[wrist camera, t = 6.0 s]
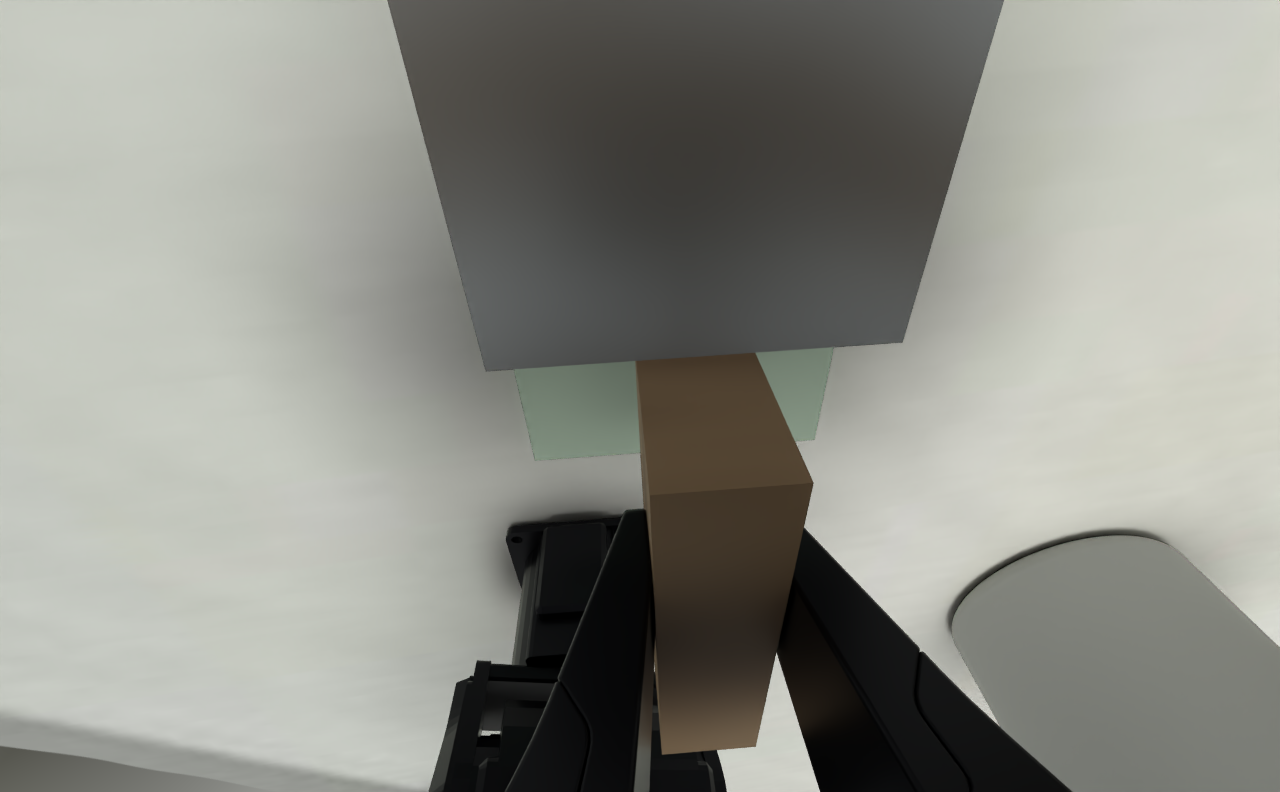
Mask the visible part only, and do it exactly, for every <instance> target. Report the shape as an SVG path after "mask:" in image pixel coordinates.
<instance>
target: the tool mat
mask: <svg viewBox="0 0 1280 792" xmlns="http://www.w3.org/2000/svg"><path fill="white" fill-rule="evenodd" d="M833 349H834V347H830V348H816V349H801V350H787V351H772V352H758V353H756V355H757V358H758V360H759V362H760V364H761V367H762V369H763V371H764V373H765V376H766V378H767V380H768V382H769V384H770V387H771V389H772V391H773V393H774V396H775V398H776V400H777V402H778V405H779V407H780V409H781V411H782V414H783V416H784V418H785V420H786V423H787V425H788V427H789V429H790V431H791V434H792V436H793V438H794V440H795V441H807V440H814V439H815V434H816V430H817V425H818V420H819V415H820V411H821V406H822V401H823V396H824V391H825V387H826V382H827V377H828V372H829V368H830V363H831V358H832V353H833ZM514 373H515V377H516V381H517V386H518V390H519V394H520V398H521V403H522V407H523V411H524V415H525V420H526V424H527V428H528V433H529V437H530V441H531V445H532V450H533V454H534V458H535V461H538V460H551V459H565V458H578V457H592V456H605V455H619V454H632V453H640V437H639V420H638V403H637V386H636V368H635V361H628V362H614V363H599V364H585V365H571V366H556V367H542V368H527V369H514Z"/></svg>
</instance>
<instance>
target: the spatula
mask: <svg viewBox="0 0 1280 792" xmlns="http://www.w3.org/2000/svg"><path fill="white" fill-rule="evenodd" d="M1003 2H1004V0H388V4H389V8H390V12H391V15H392V19H393V23H394V27H395V31H396V34H397V38H398V42H399V46H400V49H401V53H402V57H403V61H404V65H405V68H406V72H407V76H408V80H409V83H410V87H411V91H412V95H413V98H414V102H415V106H416V110H417V114H418V117H419V121H420V125H421V129H422V132H423V136H424V140H425V144H426V148H427V151H428V155H429V159H430V163H431V166H432V170H433V174H434V178H435V182H436V185H437V189H438V193H439V197H440V200H441V204H442V208H443V212H444V215H445V219H446V223H447V227H448V231H449V234H450V238H451V242H452V246H453V249H454V253H455V257H456V261H457V265H458V268H459V272H460V276H461V280H462V283H463V287H464V291H465V295H466V298H467V302H468V306H469V310H470V314H471V317H472V321H473V325H474V329H475V332H476V336H477V340H478V344H479V348H480V351H481V355H482V359H483V363H484V366H485V370H486V371H499V370H513V369H527V368H542V367H556V366H571V365H585V364H599V363H614V362H628V361H635V368H636V386H637V403H638V420H639V437H640V454H641V471H642V488H643V505H644V509H645V510H646V514H647V524H648V535H649V545H650V556H651V566H652V581H653V601H654V621H655V655H654V663H655V675H656V687H657V699H658V712H659V724H660V736H661V749H662V755H664V754H676V753H687V752H699V751H711V750H722V749H734V748H746V747H756V743H757V738H758V733H759V729H760V724H761V720H762V715H763V711H764V706H765V702H766V697H767V692H768V688H769V683H770V679H771V674H772V670H773V665H774V661H775V656H776V651H777V647H778V642H779V638H780V633H781V629H782V624H783V620H784V615H785V611H786V606H787V601H788V597H789V592H790V588H791V583H792V579H793V574H794V570H795V565H796V560H797V556H798V551H799V547H800V542H801V538H802V533H803V529H804V524H805V519H806V515H807V510H808V506H809V501H810V497H811V492H812V488H813V481H812V478H811V476H810V474H809V472H808V469H807V467H806V465H805V463H804V461H803V458H802V456H801V454H800V452H799V449H798V447H797V445H796V443H795V440H794V438H793V436H792V434H791V431H790V429H789V427H788V425H787V423H786V420H785V418H784V416H783V414H782V411H781V409H780V407H779V405H778V402H777V400H776V398H775V396H774V393H773V391H772V389H771V387H770V384H769V382H768V380H767V378H766V376H765V373H764V371H763V369H762V367H761V364H760V362H759V360H758V358H757V355H756V353H758V352H772V351H787V350H801V349H816V348H830V347H845V346H859V345H873V344H888V343H902V342H903V339H904V336H905V332H906V329H907V325H908V322H909V319H910V315H911V312H912V309H913V305H914V302H915V298H916V295H917V292H918V288H919V285H920V282H921V278H922V275H923V271H924V268H925V265H926V261H927V258H928V255H929V251H930V248H931V244H932V241H933V238H934V234H935V231H936V228H937V224H938V221H939V217H940V214H941V211H942V207H943V204H944V201H945V197H946V194H947V190H948V187H949V184H950V180H951V177H952V174H953V170H954V167H955V164H956V160H957V157H958V153H959V150H960V147H961V143H962V140H963V137H964V133H965V130H966V126H967V123H968V120H969V116H970V113H971V110H972V106H973V103H974V99H975V96H976V93H977V89H978V86H979V83H980V79H981V76H982V72H983V69H984V66H985V62H986V59H987V56H988V52H989V49H990V45H991V42H992V39H993V35H994V32H995V29H996V25H997V22H998V18H999V15H1000V12H1001V8H1002V5H1003Z"/></svg>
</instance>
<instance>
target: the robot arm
mask: <svg viewBox="0 0 1280 792" xmlns="http://www.w3.org/2000/svg"><path fill="white" fill-rule="evenodd" d="M506 542H507V546H508V549H509V552H510V555H511V558H512V561H513V564H514V567H515V570H516V573H517V577H518V580H519V583H520V586H521V589H522V592H521V599H520V607H519V614H518V622H517V629H516V636H515V644H514V651H513V659H512V665H506V664H491V661H479V660H477V663H476V668H475V672H474V676H470V678H467V679H465V680H462V681H460V682H457V683H456V687H455V691H454V696H453V701H452V706H451V710H450V715H449V719H448V724H447V728H446V732H445V736H444V739H443V743H442V747H441V750H440V754H439V757H438V761H437V764H436V768H435V771H434V775H433V778H432V782H431V785H430V789H429V792H727V791H726V784H725V779H724V775H723V771H722V767H721V763H720V760H719V756H718V753H717V750H711V751H699V752H687V753H676V754H664V755H662V749H661V736H660V724H659V712H658V699H657V687H656V675H655V672H654V655H655V621H654V601H653V581H652V566H651V556H650V545H649V535H648V524H647V514H646V510H645V509H632V510H626V511H625V512H624V514H623V516H622V518H612V519H599V520H586V521H573V522H560V523H547V524H534V525H521V526H513V527H511V528H509V529H508V531H507V535H506ZM919 651H920V649H919V647H918V646H917V645H916V644H915V643H914V642H913V641H912V639H911V638H910V637H909V636H908V635H907V634H906V633H905V632H904V631H903V630H902V629H901V628H900V627H899V626H898V625H897V624H896V623H895V622H894V621H893V620H892V619H891V618H890V617H889V616H888V614H887V613H886V612H885V611H884V610H883V609H882V608H881V607H880V606H879V605H878V604H877V603H876V602H875V601H874V600H873V599H872V598H871V597H870V596H869V595H868V594H867V593H866V592H865V590H864V589H863V588H862V587H861V586H860V585H859V584H858V583H857V582H856V581H855V580H854V579H853V578H852V577H851V576H850V575H849V574H848V573H847V572H846V571H845V570H844V569H843V568H842V566H841V565H840V564H839V563H838V562H837V561H836V560H835V559H834V558H833V557H832V556H831V555H830V554H829V553H828V552H827V551H826V550H825V549H824V548H823V547H822V546H821V545H820V544H819V542H818V541H817V540H816V539H815V538H814V537H813V536H812V535H811V534H810V533H809V532H808V531H807V530H806V529H805V528H804V529H803V533H802V538H801V542H800V547H799V551H798V556H797V560H796V565H795V570H794V574H793V579H792V583H791V588H790V592H789V597H788V601H787V606H786V611H785V615H784V620H783V624H782V629H781V633H780V638H779V642H778V647H777V651H776V652H777V655H778V658H779V661H780V665H781V668H782V671H783V674H784V677H785V681H786V684H787V687H788V690H789V693H790V697H791V700H792V703H793V706H794V709H795V713H796V716H797V719H798V722H799V726H800V729H801V732H802V735H803V738H804V742H805V745H806V748H807V751H808V754H809V758H810V761H811V764H812V767H813V770H814V774H815V777H816V780H817V783H818V786H819V790H820V792H1073V791H1071V790H1070V789H1069V788H1068V787H1067V786H1066V785H1065V784H1064V783H1062V782H1061V781H1060V780H1059V779H1058V778H1057V777H1056V776H1055V775H1053V774H1052V773H1051V772H1050V771H1049V770H1048V769H1047V768H1046V767H1044V766H1043V765H1042V764H1041V763H1040V762H1039V761H1038V760H1037V759H1035V758H1034V757H1033V756H1032V755H1031V754H1030V753H1029V752H1028V751H1026V750H1025V749H1024V748H1023V747H1022V746H1021V745H1020V744H1019V743H1017V742H1016V741H1015V740H1014V739H1013V738H1012V737H1011V736H1010V735H1008V734H1007V733H1006V732H1005V731H1004V730H1003V729H1002V728H1001V727H1000V726H999V725H997V724H996V723H995V722H994V721H993V720H992V719H991V718H990V717H989V716H988V715H987V714H985V713H984V712H983V711H982V710H981V709H980V708H979V707H978V706H977V705H976V704H975V703H974V702H972V701H971V700H970V699H969V698H968V697H967V696H966V695H965V694H964V693H963V692H962V691H961V690H960V689H959V688H958V687H957V686H956V685H955V684H954V683H953V682H952V681H951V680H950V679H949V678H948V677H947V676H946V675H945V674H944V673H943V672H942V671H941V670H940V669H939V668H938V666H937V665H936V664H935V663H934V662H933V661H932V660H931V659H930V658H929V657H928V656H927V655H926V654H925V653H924V652H919ZM482 730H486V731H500V734H491V735H490V736H481V734H482Z"/></svg>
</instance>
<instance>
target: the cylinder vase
mask: <svg viewBox="0 0 1280 792" xmlns="http://www.w3.org/2000/svg"><path fill="white" fill-rule="evenodd" d="M952 636H953V640H954V643H955V645H956V647H957V649H958V650H959V652H960V654H961V656H962V658H963V660H964V661H965V663H966V665H967V667H968V669H969V671H970V672H971V674H972V676H973V678H974V680H975V682H976V683H977V685H978V687H979V689H980V691H981V693H982V694H983V696H984V698H985V700H986V702H987V704H988V705H989V707H990V709H991V711H992V713H993V715H994V716H995V718H996V720H997V722H998V724H999V726H1000V727H1001V728H1002V729H1003V730H1004V731H1005V732H1006V733H1007V734H1008V735H1010V736H1011V737H1012V738H1013V739H1014V740H1015V741H1016V742H1017V743H1019V744H1020V745H1021V746H1022V747H1023V748H1024V749H1025V750H1026V751H1028V752H1029V753H1030V754H1031V755H1032V756H1033V757H1034V758H1035V759H1037V760H1038V761H1039V762H1040V763H1041V764H1042V765H1043V766H1044V767H1046V768H1047V769H1048V770H1049V771H1050V772H1051V773H1052V774H1053V775H1055V776H1056V777H1057V778H1058V779H1059V780H1060V781H1061V782H1062V783H1064V784H1065V785H1066V786H1067V787H1068V788H1069V789H1070V790H1071V791H1073V792H1280V647H1279V646H1278V645H1277V644H1276V643H1275V642H1273V641H1272V640H1271V639H1270V638H1269V637H1268V636H1267V635H1266V634H1265V633H1264V632H1263V631H1262V630H1261V629H1260V628H1259V627H1258V626H1257V625H1256V624H1255V623H1254V622H1253V621H1252V620H1251V619H1249V618H1248V617H1247V616H1246V615H1245V614H1244V613H1243V612H1242V611H1241V610H1240V609H1239V608H1238V607H1237V606H1236V605H1235V604H1234V603H1233V602H1232V601H1231V600H1230V599H1229V598H1228V597H1227V596H1226V595H1224V594H1223V593H1222V592H1221V591H1220V590H1219V589H1218V588H1217V587H1216V586H1215V585H1214V584H1213V583H1212V582H1211V581H1210V580H1209V579H1208V578H1207V577H1206V576H1205V575H1204V574H1203V573H1202V572H1200V571H1199V570H1198V569H1197V568H1196V567H1195V566H1194V565H1193V564H1192V563H1191V562H1190V561H1189V560H1188V559H1187V558H1186V557H1185V556H1184V555H1183V554H1181V553H1180V552H1179V551H1178V550H1176V549H1174V548H1173V547H1171V546H1169V545H1167V544H1165V543H1162V542H1160V541H1157V540H1153V539H1149V538H1144V537H1138V536H1125V535H1115V536H1100V537H1092V538H1086V539H1081V540H1076V541H1071V542H1067V543H1063V544H1060V545H1056V546H1053V547H1050V548H1047V549H1044V550H1041V551H1038V552H1036V553H1033V554H1031V555H1028V556H1026V557H1024V558H1022V559H1019V560H1017V561H1015V562H1013V563H1011V564H1009V565H1008V566H1006V567H1004V568H1002V569H1000V570H999V571H997V572H996V573H994V574H992V575H991V576H990V577H988V578H987V579H985V580H984V581H983V582H981V583H980V584H979V585H978V586H976V587H975V588H974V589H973V590H972V591H971V592H970V593H969V594H968V595H967V596H966V597H965V599H964V600H963V601H962V602H961V604H960V605H959V607H958V609H957V611H956V613H955V615H954V618H953V622H952Z"/></svg>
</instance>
